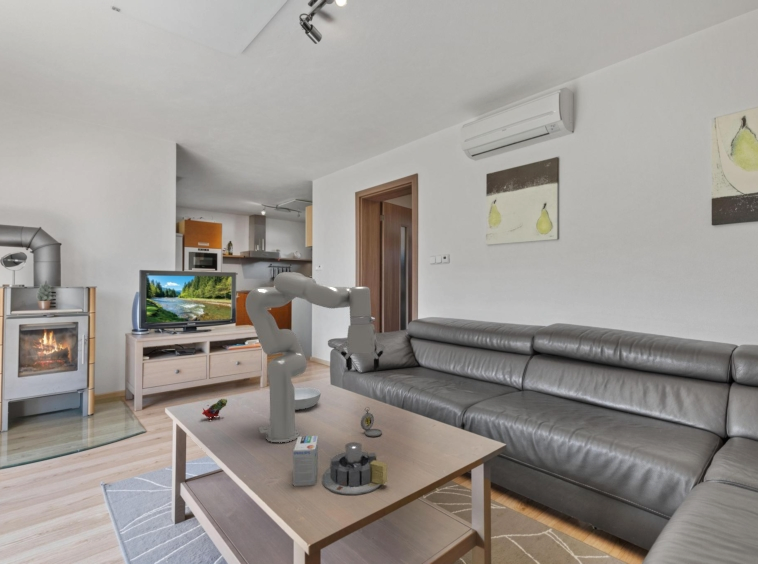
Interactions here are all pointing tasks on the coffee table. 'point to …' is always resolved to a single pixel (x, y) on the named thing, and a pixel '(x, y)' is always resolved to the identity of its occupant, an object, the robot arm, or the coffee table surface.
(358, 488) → the spindle plate
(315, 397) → the serving bowl
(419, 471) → the coffee table surface
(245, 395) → the coffee table surface
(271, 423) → the robot arm
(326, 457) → the coffee table surface
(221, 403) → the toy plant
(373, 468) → the castellated metal disc
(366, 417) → the pocket watch
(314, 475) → the light bulb box
